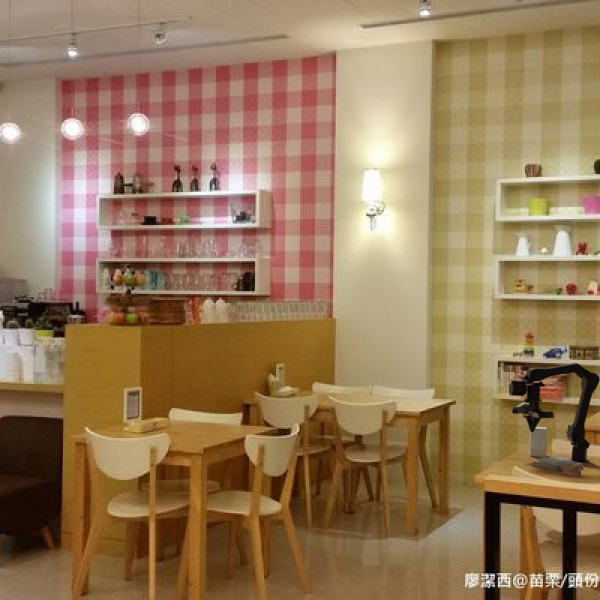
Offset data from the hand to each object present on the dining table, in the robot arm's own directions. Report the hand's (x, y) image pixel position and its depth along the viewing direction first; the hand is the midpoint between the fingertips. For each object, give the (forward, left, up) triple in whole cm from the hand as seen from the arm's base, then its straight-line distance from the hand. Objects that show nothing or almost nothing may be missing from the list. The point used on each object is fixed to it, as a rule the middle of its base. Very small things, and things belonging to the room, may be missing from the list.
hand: (531, 432), depth 398 cm
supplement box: (-12, -6, -12) cm, 18 cm away
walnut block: (+14, +32, -12) cm, 37 cm away
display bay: (+5, +18, -12) cm, 22 cm away
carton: (+7, +18, -12) cm, 23 cm away
